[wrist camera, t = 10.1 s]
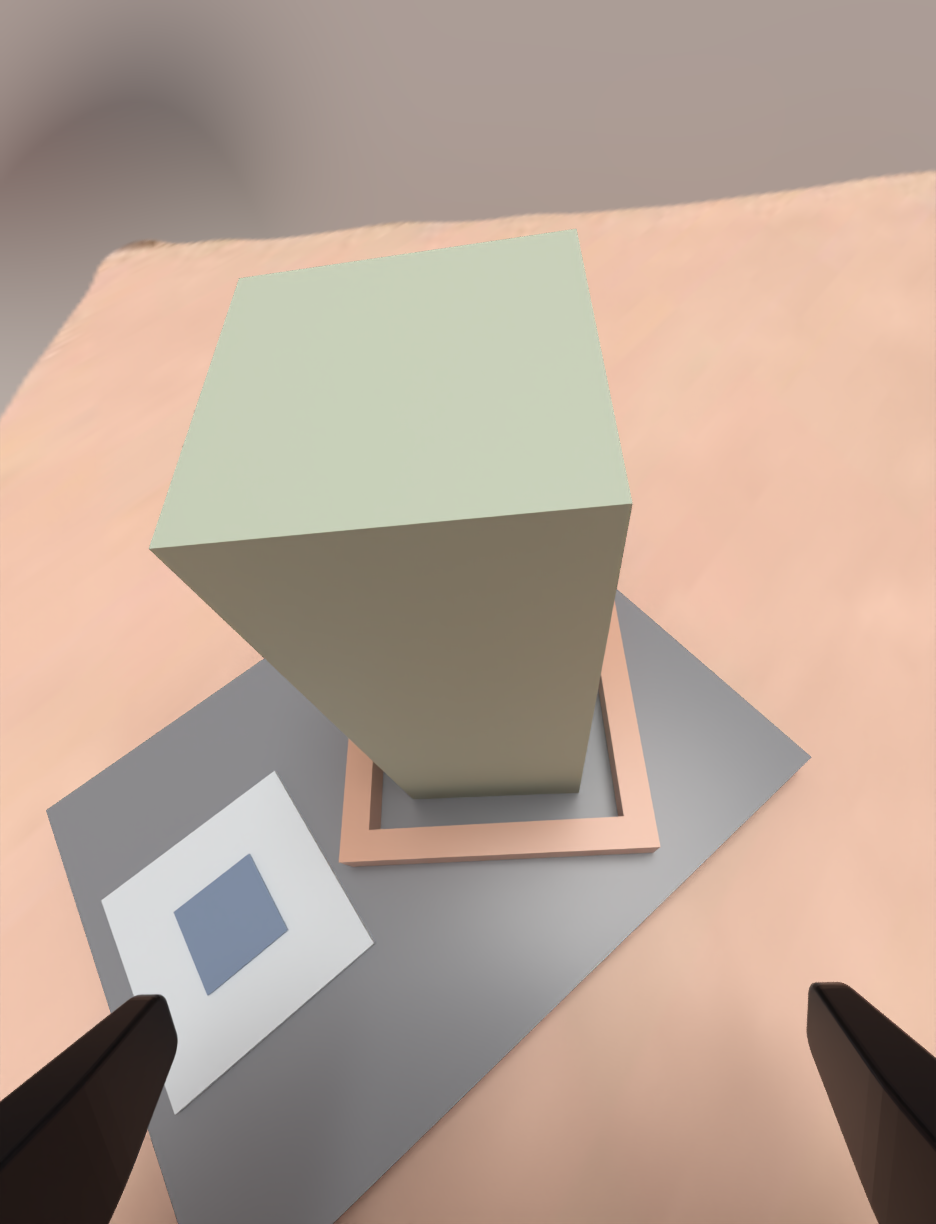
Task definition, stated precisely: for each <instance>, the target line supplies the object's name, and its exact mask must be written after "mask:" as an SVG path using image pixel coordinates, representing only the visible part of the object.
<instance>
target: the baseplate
mask: <svg viewBox="0 0 936 1224" xmlns="http://www.w3.org/2000/svg"><path fill="white" fill-rule="evenodd" d="M615 605H616V611H617V616H618V621H619V627H620V632H621V638H622V643H623V648H624V654H625V659H626V664H627V670H628V675H629V681H630V686H631V691H632V697H633V702H634V707H635V713H636V718H637V723H638V729H639V734H640V740H641V745H642V750H643V756H644V761H645V766H646V772H647V777H648V782H649V788H650V793H651V799H652V804H653V809H654V815H655V820H656V825H657V831H658V836H659V841H660V848H659V849H657V850H656V851H655V852H654V853H636V854H614V855H593V856H572V857H550V858H529V859H507V860H486V861H465V862H443V863H422V864H401V865H379V866H358V867H351V866H348V865H345V864H342V863H339V853H340V840H341V827H342V815H343V802H344V789H345V776H346V764H347V751H348V737H347V736H346V735H345V734H344V733H343V732H342V731H340V730H339V729H338V728H337V727H336V726H335V725H334V724H333V723H332V722H331V721H330V720H329V719H328V718H327V717H326V716H325V715H324V714H323V713H322V712H320V711H319V710H318V709H317V708H316V707H315V706H314V705H313V704H312V703H311V702H310V701H309V700H308V699H307V698H306V697H305V696H304V695H303V694H301V693H300V692H299V691H298V690H297V689H296V688H295V687H294V686H293V685H292V684H291V683H290V682H289V681H288V680H287V679H286V678H285V677H284V676H282V675H281V674H280V673H279V672H278V671H277V670H276V669H275V668H274V667H273V666H272V665H271V664H270V663H269V662H268V661H267V660H266V659H265V658H264V659H263V660H261V661H260V662H258V663H257V664H256V665H254V666H253V667H251V668H250V669H248V670H247V671H246V672H244V673H243V674H241V675H240V676H238V677H237V678H235V679H234V680H233V681H231V682H230V683H228V684H227V685H225V686H224V687H223V688H221V689H220V690H218V691H217V692H215V693H214V694H212V695H211V696H210V697H208V698H207V699H205V700H204V701H202V702H201V703H200V704H198V705H197V706H195V707H194V708H192V709H191V710H189V711H188V712H187V713H185V714H184V715H182V716H181V717H179V718H178V719H177V720H175V721H174V722H172V723H171V724H169V725H168V726H166V727H165V728H164V729H162V730H161V731H159V732H158V733H156V734H155V735H154V736H152V737H151V738H149V739H148V740H146V741H145V742H143V743H142V744H141V745H139V746H138V747H136V748H135V749H133V750H132V751H131V752H129V753H128V754H126V755H125V756H123V757H122V758H121V759H119V760H118V761H116V762H115V763H113V764H112V765H110V766H109V767H108V768H106V769H105V770H103V771H102V772H100V773H99V774H98V775H96V776H95V777H93V778H92V779H90V780H89V781H87V782H86V783H85V784H83V785H82V786H80V787H79V788H77V789H76V790H75V791H73V792H72V793H70V794H69V795H67V796H66V797H64V798H63V799H62V800H60V801H59V802H57V803H56V804H54V805H53V806H52V807H50V808H49V809H47V810H46V812H47V815H48V818H49V821H50V824H51V827H52V830H53V834H54V837H55V840H56V843H57V846H58V849H59V852H60V855H61V859H62V862H63V865H64V868H65V871H66V874H67V877H68V881H69V884H70V887H71V890H72V893H73V896H74V899H75V902H76V906H77V909H78V912H79V915H80V918H81V921H82V924H83V927H84V931H85V934H86V937H87V940H88V943H89V946H90V949H91V953H92V956H93V959H94V962H95V965H96V968H97V971H98V974H99V978H100V981H101V984H102V987H103V990H104V993H105V996H106V1000H107V1003H108V1006H109V1009H110V1012H111V1013H112V1012H113V1011H115V1010H116V1009H117V1008H118V1007H120V1006H121V1005H122V1004H123V1003H125V1002H126V1001H127V1000H129V999H130V998H132V997H134V996H136V995H141V994H160V995H162V996H164V997H165V998H166V1000H167V1003H168V1006H169V1009H170V1013H171V1016H172V1019H173V1022H174V1025H175V1029H176V1032H177V1036H178V1044H177V1051H176V1055H175V1058H174V1061H173V1063H172V1066H171V1069H170V1071H169V1074H168V1077H167V1079H166V1082H165V1084H164V1087H163V1090H162V1092H161V1095H160V1098H159V1100H158V1103H157V1106H156V1108H155V1111H154V1113H153V1116H152V1119H151V1121H150V1124H149V1127H148V1131H149V1134H150V1137H151V1140H152V1144H153V1147H154V1150H155V1153H156V1156H157V1159H158V1162H159V1165H160V1169H161V1172H162V1175H163V1178H164V1181H165V1184H166V1187H167V1191H168V1194H169V1197H170V1200H171V1203H172V1206H173V1209H174V1212H175V1216H176V1219H177V1222H178V1224H333V1223H334V1222H335V1221H336V1220H337V1219H338V1218H339V1217H340V1216H341V1215H342V1214H343V1213H344V1212H345V1211H346V1210H347V1209H348V1208H349V1207H350V1206H351V1205H352V1204H354V1203H355V1202H356V1201H357V1200H358V1199H359V1198H360V1197H361V1196H362V1195H363V1194H364V1193H365V1192H366V1191H367V1190H368V1189H369V1188H370V1187H371V1186H372V1185H373V1184H374V1183H375V1182H376V1181H377V1180H378V1179H379V1178H380V1177H381V1176H382V1175H383V1174H384V1173H385V1172H386V1171H387V1170H388V1169H389V1168H390V1167H391V1166H393V1165H394V1164H395V1163H396V1162H397V1161H398V1160H399V1159H400V1158H401V1157H402V1156H403V1155H404V1154H405V1153H406V1152H407V1151H408V1150H409V1149H410V1148H411V1147H412V1146H413V1145H414V1144H415V1143H416V1142H417V1141H418V1140H419V1139H420V1138H421V1137H422V1136H423V1135H424V1134H425V1133H426V1132H427V1131H428V1130H429V1129H430V1128H431V1127H433V1126H434V1125H435V1124H436V1123H437V1122H438V1121H439V1120H440V1119H441V1118H442V1117H443V1116H444V1115H445V1114H446V1113H447V1112H448V1111H449V1110H450V1109H451V1108H452V1107H453V1106H454V1105H455V1104H456V1103H457V1102H458V1101H459V1100H460V1099H461V1098H462V1097H463V1096H464V1095H465V1094H466V1093H467V1092H468V1091H469V1090H470V1089H472V1088H473V1087H474V1086H475V1085H476V1084H477V1083H478V1082H479V1081H480V1080H481V1079H482V1078H483V1077H484V1076H485V1075H486V1074H487V1073H488V1072H489V1071H490V1070H491V1069H492V1068H493V1067H494V1066H495V1065H496V1064H497V1063H498V1062H499V1061H500V1060H501V1059H502V1058H503V1057H504V1056H505V1055H506V1054H507V1053H508V1052H509V1051H511V1050H512V1049H513V1048H514V1047H515V1046H516V1045H517V1044H518V1043H519V1042H520V1041H521V1040H522V1039H523V1038H524V1037H525V1036H526V1035H527V1034H528V1033H529V1032H530V1031H531V1030H532V1029H533V1028H534V1027H535V1026H536V1025H537V1024H538V1023H539V1022H540V1021H541V1020H542V1019H543V1018H544V1017H545V1016H546V1015H547V1014H548V1013H549V1012H551V1011H552V1010H553V1009H554V1008H555V1007H556V1006H557V1005H558V1004H559V1003H560V1002H561V1001H562V1000H563V999H564V998H565V997H566V996H567V995H568V994H569V993H570V992H571V991H572V990H573V989H574V988H575V987H576V986H577V985H578V984H579V983H580V982H581V981H582V980H583V979H584V978H585V977H586V976H587V975H588V974H590V973H591V972H592V971H593V970H594V969H595V968H596V967H597V966H598V965H599V964H600V963H601V962H602V961H603V960H604V959H605V958H606V957H607V956H608V955H609V954H610V953H611V952H612V951H613V950H614V949H615V948H616V947H617V946H618V945H619V944H620V943H621V942H622V941H623V940H624V939H625V938H626V937H627V936H628V935H630V934H631V933H632V932H633V931H634V930H635V929H636V928H637V927H638V926H639V925H640V924H641V923H642V922H643V921H644V920H645V919H646V918H647V917H648V916H649V915H650V914H651V913H652V912H653V911H654V910H655V909H656V908H657V907H658V906H659V905H660V904H661V903H662V902H663V901H664V900H665V899H666V898H667V897H669V896H670V895H671V894H672V893H673V892H674V891H675V890H676V889H677V888H678V887H679V886H680V885H681V884H682V883H683V882H684V881H685V880H686V879H687V878H688V877H689V876H690V875H691V874H692V873H693V872H694V871H695V870H696V869H697V868H698V867H699V866H700V865H701V864H702V863H703V862H704V861H705V860H706V859H707V858H709V857H710V856H711V855H712V854H713V853H714V852H715V851H716V850H717V849H718V848H719V847H720V846H721V845H722V844H723V843H724V842H725V841H726V840H727V839H728V838H729V837H730V836H731V835H732V834H733V833H734V832H735V831H736V830H737V829H738V828H739V827H740V826H741V825H742V824H743V823H744V822H745V821H746V820H748V819H749V818H750V817H751V816H752V815H753V814H754V813H755V812H756V811H757V810H758V809H759V808H760V807H761V806H762V805H763V804H764V803H765V802H766V801H767V800H768V799H769V798H770V797H771V796H772V795H773V794H774V793H775V792H776V791H777V790H778V789H779V788H780V787H781V786H782V785H783V784H784V783H785V782H787V781H788V780H789V779H790V778H791V777H792V776H793V775H794V774H795V773H796V772H797V771H798V770H799V769H800V768H801V767H802V766H803V765H804V764H805V763H806V762H807V761H808V760H809V759H810V758H811V756H810V755H808V754H807V753H806V752H805V751H804V750H803V749H801V748H800V747H799V746H798V745H797V744H796V743H794V742H793V741H792V740H791V739H790V738H789V737H788V736H786V735H785V734H784V733H783V732H782V731H781V730H779V729H778V728H777V727H776V726H775V725H774V724H772V723H771V722H770V721H769V720H768V719H767V718H766V717H764V716H763V715H762V714H761V713H760V712H759V711H757V710H756V709H755V708H754V707H753V706H752V705H750V704H749V703H748V702H747V701H746V700H745V699H744V698H742V697H741V696H740V695H739V694H738V693H737V692H735V691H734V690H733V689H732V688H731V687H730V686H728V685H727V684H726V683H725V682H724V681H723V680H722V679H720V678H719V677H718V676H717V675H716V674H715V673H713V672H712V671H711V670H710V669H709V668H708V667H706V666H705V665H704V664H703V663H702V662H701V661H699V660H698V659H697V658H696V657H695V656H694V655H693V654H691V653H690V652H689V651H688V650H687V649H686V648H684V647H683V646H682V645H681V644H680V643H679V642H677V641H676V640H675V639H674V638H673V637H672V636H671V635H669V634H668V633H667V632H666V631H665V630H664V629H662V628H661V627H660V626H659V625H658V624H657V623H655V622H654V621H653V620H652V619H651V618H650V617H649V616H647V615H646V614H645V613H644V612H643V611H642V610H640V609H639V608H638V607H637V606H636V605H635V604H633V603H632V602H631V601H630V600H629V599H628V598H626V597H625V596H624V595H623V594H622V593H621V592H620V591H618V590H616V595H615ZM601 817H618V812H617V806H616V799H615V793H614V786H613V780H612V774H611V767H610V761H609V754H608V748H607V741H606V735H605V728H604V722H603V716H602V709H601V703H600V696H599V690H598V692H597V698H596V703H595V709H594V714H593V720H592V725H591V730H590V736H589V741H588V747H587V752H586V757H585V763H584V768H583V774H582V779H581V784H580V790H579V793H559V794H534V795H509V796H485V797H460V798H435V799H412V798H411V797H410V796H409V795H408V794H407V793H406V792H405V791H404V790H403V789H402V788H401V787H400V786H398V785H397V784H396V783H395V782H394V781H393V780H392V779H391V778H390V777H389V776H388V775H387V774H386V773H385V772H384V771H383V788H382V810H381V829H395V828H414V827H433V826H451V825H470V824H489V823H508V822H526V821H545V820H564V819H582V818H601Z"/></svg>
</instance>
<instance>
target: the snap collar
mask: <svg viewBox="0 0 936 1224" xmlns="http://www.w3.org/2000/svg"><path fill="white" fill-rule="evenodd" d="M598 690H599V696H600V703H601V709H602V716H603V722H604V728H605V735H606V741H607V748H608V754H609V761H610V767H611V774H612V780H613V786H614V793H615V799H616V806H617V812H618V817H601V818H582V819H564V820H545V821H526V822H508V823H489V824H470V825H451V826H433V827H414V828H395V829H381V810H382V788H383V770H382V769H381V768H380V767H378V766H377V765H376V764H375V763H374V762H373V761H372V760H371V759H370V758H369V757H368V756H367V755H366V754H365V753H364V752H363V751H362V750H361V749H359V748H358V747H357V746H356V745H355V744H354V743H353V742H352V741H351V740H350V739H349V738H348V751H347V764H346V776H345V789H344V802H343V815H342V827H341V840H340V853H339V863H342V864H345V865H348V866H351V867H358V866H379V865H401V864H422V863H443V862H465V861H486V860H507V859H529V858H550V857H572V856H593V855H614V854H636V853H654V852H655V851H656V850H657V849H659V848H660V841H659V836H658V831H657V825H656V820H655V815H654V809H653V804H652V799H651V793H650V788H649V782H648V777H647V772H646V766H645V761H644V756H643V750H642V745H641V740H640V734H639V729H638V723H637V718H636V713H635V707H634V702H633V697H632V691H631V686H630V681H629V675H628V670H627V664H626V659H625V654H624V648H623V643H622V638H621V632H620V627H619V621H618V616H617V611H616V605H615V601H614V606H613V611H612V617H611V622H610V628H609V633H608V638H607V644H606V649H605V655H604V660H603V665H602V671H601V676H600V682H599V687H598Z"/></svg>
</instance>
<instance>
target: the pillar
mask: <svg viewBox="0 0 936 1224" xmlns="http://www.w3.org/2000/svg"><path fill="white" fill-rule="evenodd" d="M631 509H632V499H631V494H630V489H629V484H628V479H627V474H626V469H625V464H624V460H623V455H622V450H621V445H620V440H619V435H618V430H617V425H616V420H615V415H614V411H613V406H612V401H611V396H610V391H609V386H608V381H607V376H606V371H605V367H604V362H603V357H602V352H601V347H600V342H599V337H598V332H597V327H596V322H595V318H594V313H593V308H592V303H591V298H590V293H589V288H588V283H587V278H586V274H585V269H584V264H583V259H582V254H581V249H580V244H579V239H578V234H577V230H576V229H571V230H565V231H558V232H551V233H544V234H537V235H531V236H524V237H517V238H510V239H503V240H497V241H490V242H483V243H476V244H469V245H463V246H456V247H449V248H442V249H435V250H429V251H422V252H415V253H408V254H401V255H395V256H388V257H381V258H374V259H367V260H361V261H354V262H347V263H340V264H333V265H327V266H320V267H313V268H306V269H299V270H292V271H286V272H279V273H272V274H265V275H258V276H252V277H245V278H239V280H238V283H237V286H236V289H235V292H234V295H233V298H232V301H231V304H230V307H229V310H228V313H227V316H226V319H225V322H224V325H223V328H222V331H221V334H220V337H219V340H218V343H217V346H216V349H215V352H214V355H213V358H212V361H211V364H210V367H209V370H208V373H207V376H206V379H205V382H204V385H203V388H202V391H201V394H200V397H199V400H198V403H197V406H196V409H195V412H194V415H193V418H192V421H191V424H190V427H189V430H188V433H187V436H186V439H185V442H184V445H183V448H182V451H181V454H180V457H179V460H178V463H177V466H176V469H175V472H174V475H173V478H172V481H171V484H170V487H169V490H168V493H167V496H166V499H165V502H164V505H163V508H162V511H161V514H160V517H159V520H158V523H157V526H156V529H155V532H154V535H153V538H152V541H151V544H150V547H149V549H150V550H151V551H152V552H153V553H154V554H155V555H156V556H157V557H158V558H159V559H160V560H161V561H162V562H163V563H164V564H165V565H166V566H168V567H169V568H170V569H171V570H172V571H173V572H174V573H175V574H176V575H177V576H178V577H179V578H180V579H181V580H182V581H183V582H184V583H185V584H187V585H188V586H189V587H190V588H191V589H192V590H193V591H194V592H195V593H196V594H197V595H198V596H199V597H200V598H201V599H202V600H203V601H204V602H205V603H207V604H208V605H209V606H210V607H211V608H212V609H213V610H214V611H215V612H216V613H217V614H218V615H219V616H220V617H221V618H222V619H223V620H224V621H226V622H227V623H228V624H229V625H230V626H231V627H232V628H233V629H234V630H235V631H236V632H237V633H238V634H239V635H240V636H241V637H242V638H243V639H245V640H246V641H247V642H248V643H249V644H250V645H251V646H252V647H253V648H254V649H255V650H256V651H257V652H258V653H259V654H260V655H261V656H262V657H263V658H265V659H266V660H267V661H268V662H269V663H270V664H271V665H272V666H273V667H274V668H275V669H276V670H277V671H278V672H279V673H280V674H281V675H282V676H284V677H285V678H286V679H287V680H288V681H289V682H290V683H291V684H292V685H293V686H294V687H295V688H296V689H297V690H298V691H299V692H300V693H301V694H303V695H304V696H305V697H306V698H307V699H308V700H309V701H310V702H311V703H312V704H313V705H314V706H315V707H316V708H317V709H318V710H319V711H320V712H322V713H323V714H324V715H325V716H326V717H327V718H328V719H329V720H330V721H331V722H332V723H333V724H334V725H335V726H336V727H337V728H338V729H339V730H340V731H342V732H343V733H344V734H345V735H346V736H347V737H348V738H349V739H350V740H351V741H352V742H353V743H354V744H355V745H356V746H357V747H358V748H359V749H361V750H362V751H363V752H364V753H365V754H366V755H367V756H368V757H369V758H370V759H371V760H372V761H373V762H374V763H375V764H376V765H377V766H378V767H380V768H381V769H382V770H383V771H384V772H385V773H386V774H387V775H388V776H389V777H390V778H391V779H392V780H393V781H394V782H395V783H396V784H397V785H398V786H400V787H401V788H402V789H403V790H404V791H405V792H406V793H407V794H408V795H409V796H410V797H411V798H412V799H435V798H460V797H485V796H509V795H534V794H559V793H579V790H580V784H581V779H582V774H583V768H584V763H585V757H586V752H587V747H588V741H589V736H590V730H591V725H592V720H593V714H594V709H595V703H596V698H597V692H598V687H599V682H600V676H601V671H602V665H603V660H604V655H605V649H606V644H607V638H608V633H609V628H610V622H611V617H612V611H613V606H614V601H615V595H616V590H617V584H618V579H619V573H620V568H621V563H622V557H623V552H624V546H625V541H626V536H627V530H628V525H629V519H630V514H631Z"/></svg>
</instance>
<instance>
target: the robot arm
mask: <svg viewBox="0 0 936 1224" xmlns="http://www.w3.org/2000/svg"><path fill="white" fill-rule="evenodd" d="M807 1038H808V1043H809V1047H810V1050H811V1053H812V1056H813V1058H814V1061H815V1063H816V1066H817V1069H818V1071H819V1074H820V1077H821V1079H822V1082H823V1084H824V1087H825V1090H826V1092H827V1095H828V1097H829V1100H830V1103H831V1105H832V1108H833V1110H834V1113H835V1116H836V1118H837V1121H838V1123H839V1126H840V1129H841V1131H842V1134H843V1136H844V1139H845V1142H846V1144H847V1147H848V1149H849V1152H850V1155H851V1157H852V1160H853V1162H854V1165H855V1168H856V1170H857V1173H858V1175H859V1178H860V1180H861V1183H862V1185H863V1188H864V1190H865V1193H866V1195H867V1198H868V1200H869V1203H870V1205H871V1208H872V1210H873V1212H874V1214H875V1216H876V1219H877V1221H878V1223H879V1224H936V1058H935V1057H934V1056H933V1055H932V1054H931V1053H929V1052H928V1051H927V1050H926V1049H925V1048H923V1047H922V1046H921V1045H920V1044H919V1043H917V1042H916V1041H915V1040H914V1039H913V1038H911V1037H910V1036H909V1035H908V1034H907V1033H905V1032H904V1031H903V1030H902V1029H901V1028H899V1027H898V1026H897V1025H896V1024H895V1023H893V1022H892V1021H891V1020H890V1019H889V1018H887V1017H886V1016H885V1015H884V1014H883V1013H881V1012H880V1011H879V1010H878V1009H877V1008H875V1007H874V1006H873V1005H872V1004H870V1003H869V1002H868V1001H867V1000H866V999H864V998H863V997H862V996H861V995H860V994H858V993H857V992H856V991H855V990H854V989H852V988H851V987H850V986H848V985H846V984H844V983H841V982H816V983H812V984H811V986H810V987H809V992H808V1011H807ZM177 1044H178V1036H177V1032H176V1029H175V1025H174V1022H173V1019H172V1016H171V1013H170V1009H169V1006H168V1003H167V1000H166V998H165V997H164V996H162V995H160V994H141V995H136V996H134V997H132V998H130V999H129V1000H127V1001H126V1002H125V1003H123V1004H122V1005H121V1006H120V1007H118V1008H117V1009H116V1010H115V1011H113V1012H112V1013H111V1014H110V1015H108V1016H107V1017H106V1018H105V1019H103V1020H102V1021H101V1022H100V1023H98V1024H97V1025H96V1026H95V1027H93V1028H92V1029H91V1030H89V1031H88V1032H87V1033H86V1034H84V1035H83V1036H82V1037H81V1038H79V1039H78V1040H77V1041H76V1042H74V1043H73V1044H72V1045H71V1046H69V1047H68V1048H67V1049H66V1050H64V1051H63V1052H62V1053H61V1054H59V1055H58V1056H57V1057H56V1058H54V1059H53V1060H52V1061H51V1062H49V1063H48V1064H47V1065H45V1066H44V1067H43V1068H42V1069H40V1070H39V1071H38V1072H37V1073H35V1074H34V1075H33V1076H32V1077H30V1078H29V1079H28V1080H27V1081H25V1082H24V1083H23V1084H22V1085H20V1086H19V1087H18V1088H17V1089H15V1090H14V1091H13V1092H12V1093H10V1094H9V1095H8V1096H7V1097H5V1098H4V1099H3V1100H2V1101H0V1224H109V1222H110V1220H111V1218H112V1216H113V1213H114V1211H115V1209H116V1207H117V1204H118V1202H119V1200H120V1198H121V1195H122V1193H123V1191H124V1188H125V1186H126V1183H127V1181H128V1179H129V1176H130V1174H131V1171H132V1169H133V1166H134V1164H135V1161H136V1158H137V1156H138V1153H139V1150H140V1148H141V1145H142V1142H143V1140H144V1137H145V1135H146V1132H147V1129H148V1127H149V1124H150V1121H151V1119H152V1116H153V1113H154V1111H155V1108H156V1106H157V1103H158V1100H159V1098H160V1095H161V1092H162V1090H163V1087H164V1084H165V1082H166V1079H167V1077H168V1074H169V1071H170V1069H171V1066H172V1063H173V1061H174V1058H175V1055H176V1051H177Z"/></svg>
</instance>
